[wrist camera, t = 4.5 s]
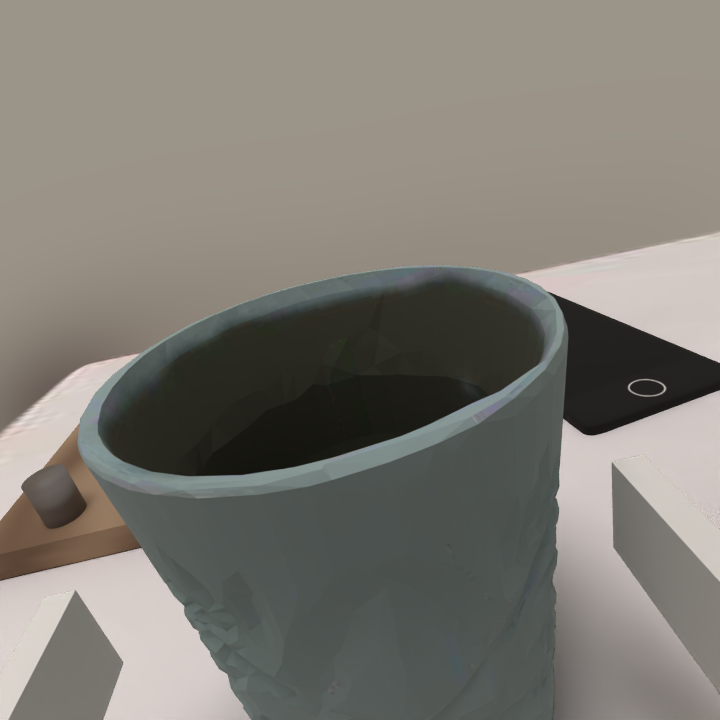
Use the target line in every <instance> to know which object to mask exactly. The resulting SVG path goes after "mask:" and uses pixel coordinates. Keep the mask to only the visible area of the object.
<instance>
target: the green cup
mask: <svg viewBox="0 0 720 720" xmlns="http://www.w3.org/2000/svg"><path fill="white" fill-rule="evenodd" d="M567 351H568V328H567V324H566V321H565V319H564V316H563V313H562V311H561V309H560V307H559V305H558V303H557V302H556V300H555V298H554V297H553V296H551V295H550V294H549V293H548V292H547V291H545V290H544V289H543V288H542V287H541V286H539V285H537V284H535V283H533V282H531V281H529V280H527V279H525V278H521V277H518V276H515V275H512V274H509V273H505V272H502V271H495V270H490V269H485V268H478V267H464V266H444V265H436V266H435V265H433V266H404V267H396V268H387V269H379V270H373V271H366V272H360V273H352V274H347V275H342V276H337V277H333V278H328V279H323V280H319V281H315V282H310V283H307V284H302V285H298V286H294V287H290V288H287V289H283V290H280V291H277V292H273V293H270V294H267V295H264V296H261V297H258V298H255V299H252V300H249V301H246V302H243V303H240V304H238V305H235V306H233V307H231V308H228V309H225V310H223V311H221V312H218V313H216V314H213V315H211V316H208V317H206V318H204V319H202V320H199V321H197V322H195V323H193V324H190V325H188V326H187V327H185V328H183V329H181V330H179V331H178V332H176V333H174V334H172V335H171V336H169V337H167V338H165V339H164V340H162V341H160V342H159V343H157V344H155V345H153V346H152V347H150V348H148V349H146V350H145V351H144V352H142V353H141V354H140V355H138V356H137V357H136V358H134V359H133V360H132V361H130V362H129V363H128V364H126V365H125V366H124V367H123V368H121V369H120V370H119V371H117V372H116V373H115V374H114V375H112V376H111V377H110V378H109V379H108V380H107V381H106V382H105V384H104V385H103V386H102V387H101V388H100V389H99V390H98V391H97V392H96V393H95V394H94V396H93V398H92V400H91V401H90V403H89V405H88V406H87V408H86V410H85V412H84V413H83V415H82V417H81V418H80V424H79V432H78V443H77V444H78V449H79V453H80V455H81V457H82V459H83V461H84V462H85V464H86V466H87V467H88V469H89V470H90V472H91V473H92V475H93V476H94V478H95V479H96V481H97V482H98V484H99V485H100V487H101V488H102V490H103V491H104V492H105V494H106V495H107V497H108V498H109V500H110V501H111V503H112V504H113V506H114V507H115V509H116V510H117V512H118V513H119V515H120V516H121V518H122V519H123V521H124V522H125V524H126V525H127V527H128V528H129V529H130V531H131V532H132V534H133V535H134V537H135V538H136V540H137V541H138V543H139V544H140V546H141V547H142V549H143V550H144V552H145V553H146V555H147V556H148V558H149V560H150V561H151V563H152V564H153V566H154V567H155V569H156V570H157V572H158V573H159V575H160V576H161V578H162V579H163V581H164V582H165V583H166V584H167V585H168V587H169V589H170V590H171V592H172V594H173V595H174V596H175V597H176V598H177V599H178V600H179V601H180V602H181V603H182V604H183V605H184V607H185V608H184V612H185V616H186V617H187V619H188V620H189V622H190V623H191V625H192V627H193V628H194V629H196V630H198V631H199V634H200V639H201V641H202V642H203V643H204V645H205V646H206V647H207V648H208V650H209V651H210V654H211V657H212V658H213V660H214V661H215V663H216V665H217V666H218V668H219V669H220V670H222V671H223V672H225V673H227V674H228V677H229V682H230V686H231V689H232V690H233V692H234V694H235V695H236V697H237V698H238V699H239V700H240V702H241V703H242V704H243V707H244V710H245V711H246V713H247V714H248V716H249V717H250V718H251V720H552V718H553V707H554V669H553V658H554V651H555V650H554V642H555V634H554V629H555V627H556V625H555V620H556V612H555V609H554V607H555V603H556V592H555V588H554V586H553V583H552V577H553V573H554V570H555V567H556V564H557V549H556V546H555V545H556V524H557V521H558V516H559V507H558V503H557V499H556V498H555V497H556V494H557V491H558V489H559V467H560V454H561V439H562V424H563V410H564V395H565V380H566V366H567Z"/></svg>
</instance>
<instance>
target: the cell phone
mask: <svg viewBox="0 0 720 720" xmlns="http://www.w3.org/2000/svg"><path fill="white" fill-rule="evenodd" d="M548 293H549V294H550V295H551V296H553V297H554V298H555V300H556V302H557V303H558V305H559V307H560V309H561V311H562V313H563V316H564V319H565V321H566V324H567V328H568V351H567V366H566V380H565V395H564V410H563V419H565V420H566V421H567V422H569V423H570V424H571V425H572V426H574V427H575V428H576V429H578V430H579V431H580V432H582V433H583V434H586V435H597V434H601V433H605V432H608V431H610V430H613V429H616V428H618V427H621V426H624V425H626V424H629V423H632V422H635V421H637V420H640V419H643V418H645V417H648V416H651V415H653V414H656V413H659V412H662V411H664V410H667V409H670V408H672V407H675V406H678V405H680V404H683V403H686V402H689V401H691V400H694V399H697V398H699V397H702V396H705V395H707V394H710V393H713V392H715V391H718V390H720V363H718V362H716V361H713V360H711V359H709V358H706V357H704V356H701V355H699V354H697V353H694V352H692V351H689V350H687V349H685V348H682V347H680V346H677V345H675V344H672V343H670V342H668V341H665V340H663V339H660V338H658V337H656V336H653V335H651V334H648V333H646V332H644V331H641V330H639V329H636V328H634V327H632V326H629V325H627V324H624V323H622V322H620V321H617V320H615V319H612V318H610V317H608V316H605V315H603V314H600V313H598V312H596V311H593V310H591V309H588V308H586V307H584V306H581V305H579V304H576V303H574V302H572V301H569V300H567V299H564V298H562V297H560V296H557V295H555V294H552V293H550V292H548Z"/></svg>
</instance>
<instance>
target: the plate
mask: <svg viewBox="0 0 720 720" xmlns="http://www.w3.org/2000/svg"><path fill="white" fill-rule="evenodd" d="M79 424H80V423H79ZM78 432H79V425H78V426H77V427H76V428H75V430H74V431H73V432H72V433H71V435H70V436H69V437H68V438H67V439H66V441H65V442H64V443H63V444H62V446H61V447H60V448H59V449H58V451H57V452H56V453H55V454H54V455H53V457H52V458H51V459H50V460H49V462H48V463H47V464H46V465H45V467H44V468H43V469H41V470H39V471H37V472H36V473H34V474H33V475H31V476H30V477H29V478H27V479H26V480H25V481H24V483H23V484H22V487H21V488H22V490H23V494H22V495H21V496H20V497H19V499H18V500H17V501H16V502H15V503H14V505H13V506H12V507H11V508H10V510H9V511H8V512H7V513H6V515H5V516H4V517H3V518H2V520H1V521H0V580H2V579H7V578H11V577H15V576H20V575H24V574H28V573H32V572H37V571H41V570H45V569H50V568H54V567H58V566H62V565H67V564H71V563H75V562H79V561H84V560H88V559H92V558H97V557H101V556H105V555H109V554H114V553H118V552H122V551H127V550H131V549H135V548H139V547H141V546H140V544H139V543H138V541H137V540H136V538H135V537H134V535H133V534H132V532H131V531H130V529H129V528H128V527H127V525H126V524H125V522H124V521H123V519H122V518H121V516H120V515H119V513H118V512H117V510H116V509H115V507H114V506H113V504H112V503H111V501H110V500H109V498H108V497H107V495H106V494H105V492H104V491H103V490H102V488H101V487H100V485H99V484H98V482H97V481H96V479H95V478H94V476H93V475H92V473H91V472H90V470H89V469H88V467H87V466H86V464H85V462H84V461H83V459H82V457H81V455H80V453H79V449H78V444H77V443H78Z"/></svg>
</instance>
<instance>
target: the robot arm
mask: <svg viewBox="0 0 720 720" xmlns="http://www.w3.org/2000/svg"><path fill="white" fill-rule="evenodd" d="M612 499H613V547H614V549H615V550H616V551H617V553H618V554H619V556H620V557H621V558H622V560H623V561H624V562H625V564H626V565H627V567H628V568H629V569H630V571H631V572H632V574H633V575H634V576H635V578H636V579H637V580H638V582H639V583H640V585H641V586H642V587H643V589H644V590H645V592H646V593H647V594H648V596H649V597H650V599H651V600H652V601H653V603H654V604H655V605H656V607H657V608H658V610H659V611H660V612H661V614H662V615H663V617H664V618H665V619H666V621H667V622H668V623H669V625H670V626H671V628H672V629H673V630H674V632H675V633H676V635H677V636H678V637H679V639H680V640H681V641H682V643H683V644H684V646H685V647H686V648H687V650H688V651H689V653H690V654H691V655H692V657H693V658H694V660H695V661H696V662H697V664H698V665H699V666H700V668H701V669H702V671H703V672H704V673H705V675H706V676H707V678H708V679H709V680H710V682H711V683H712V684H713V686H714V687H715V689H716V690H717V691H718V693H719V694H720V529H719V528H718V527H717V526H716V525H715V524H714V523H713V522H712V521H711V520H710V519H709V518H708V517H707V516H706V515H705V514H704V513H703V512H702V511H701V510H700V509H699V508H698V507H697V506H696V505H695V504H694V503H693V502H692V501H691V500H690V499H689V498H688V497H687V496H686V495H685V494H684V493H683V492H682V491H681V490H680V489H679V488H678V487H677V486H675V485H674V484H673V483H672V482H671V481H670V480H669V479H668V478H667V477H666V476H665V475H664V474H663V473H662V472H661V471H660V470H659V469H658V468H657V467H656V466H655V465H654V464H653V463H652V462H651V461H650V460H649V459H648V458H647V457H646V456H645V455H644V454H643V455H639V456H635V457H631V458H626V459H622V460H618V461H614V462H612ZM122 665H123V661H122V660H121V658H120V657H119V655H118V654H117V652H116V651H115V649H114V648H113V646H112V645H111V643H110V641H109V640H108V638H107V637H106V635H105V634H104V632H103V631H102V629H101V628H100V626H99V625H98V623H97V622H96V620H95V619H94V617H93V616H92V614H91V613H90V611H89V610H88V608H87V607H86V605H85V604H84V602H83V601H82V599H81V598H80V596H79V594H78V593H77V591H76V590H73V591H69V592H65V593H61V594H57V595H52V596H48V597H45V598H44V600H43V601H42V603H41V605H40V607H39V608H38V610H37V612H36V614H35V615H34V617H33V619H32V620H31V622H30V624H29V626H28V627H27V629H26V631H25V633H24V634H23V636H22V638H21V640H20V641H19V643H18V645H17V647H16V648H15V650H14V652H13V653H12V655H11V657H10V659H9V660H8V662H7V664H6V666H5V667H4V669H3V671H2V673H1V674H0V720H103V719H104V716H105V713H106V710H107V707H108V705H109V702H110V699H111V696H112V693H113V691H114V688H115V685H116V682H117V679H118V677H119V674H120V671H121V668H122Z"/></svg>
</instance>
